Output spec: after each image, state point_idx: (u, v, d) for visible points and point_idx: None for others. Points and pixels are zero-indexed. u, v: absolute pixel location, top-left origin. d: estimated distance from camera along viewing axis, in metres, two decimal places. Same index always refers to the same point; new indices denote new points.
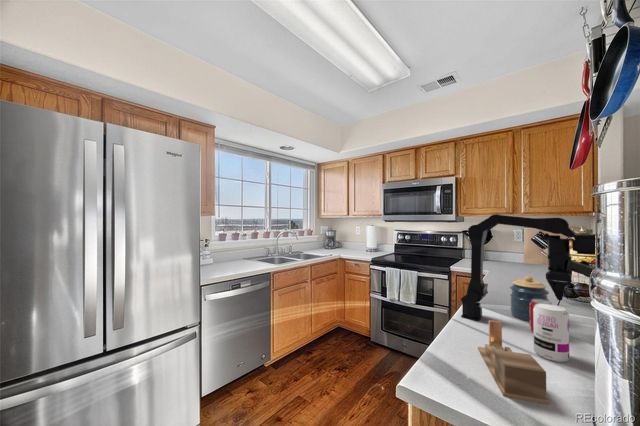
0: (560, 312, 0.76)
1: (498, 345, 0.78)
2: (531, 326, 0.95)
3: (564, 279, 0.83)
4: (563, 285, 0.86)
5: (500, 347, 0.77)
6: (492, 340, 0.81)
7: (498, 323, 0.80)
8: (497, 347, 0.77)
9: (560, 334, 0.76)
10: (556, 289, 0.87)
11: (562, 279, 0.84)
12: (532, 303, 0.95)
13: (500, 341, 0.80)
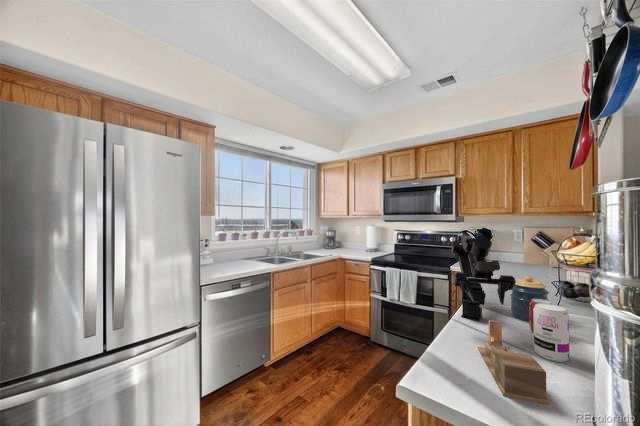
0: (560, 312, 0.76)
1: (498, 345, 0.78)
2: (531, 326, 0.95)
3: (455, 278, 0.96)
4: (466, 285, 0.93)
5: (500, 347, 0.77)
6: (492, 340, 0.81)
7: (498, 323, 0.80)
8: (497, 347, 0.77)
9: (560, 334, 0.76)
10: (468, 292, 0.93)
11: (455, 279, 0.96)
12: (532, 303, 0.95)
13: (500, 341, 0.80)
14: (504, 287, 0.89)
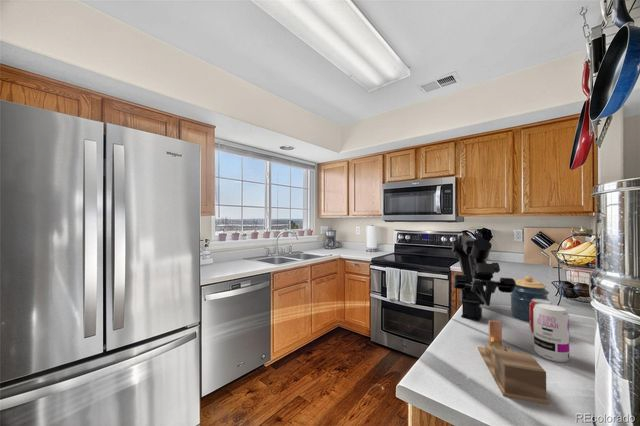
0: (560, 312, 0.76)
1: (498, 345, 0.78)
2: (531, 326, 0.95)
3: (454, 280, 0.95)
4: (478, 288, 0.92)
5: (500, 347, 0.77)
6: (492, 340, 0.81)
7: (498, 323, 0.80)
8: (497, 347, 0.77)
9: (560, 334, 0.76)
10: (480, 295, 0.91)
11: (454, 281, 0.96)
12: (532, 303, 0.95)
13: (500, 341, 0.80)
14: (490, 288, 0.90)
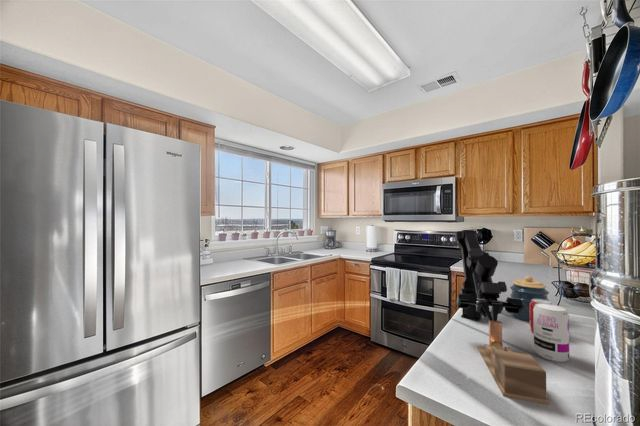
0: (560, 312, 0.76)
1: (498, 345, 0.78)
2: (531, 326, 0.95)
3: (458, 299, 0.89)
4: (483, 309, 0.85)
5: (500, 347, 0.76)
6: (492, 340, 0.80)
7: (498, 323, 0.80)
8: (497, 347, 0.77)
9: (560, 334, 0.76)
10: (486, 317, 0.85)
11: (458, 300, 0.89)
12: (532, 303, 0.95)
13: (500, 341, 0.80)
14: (497, 309, 0.84)
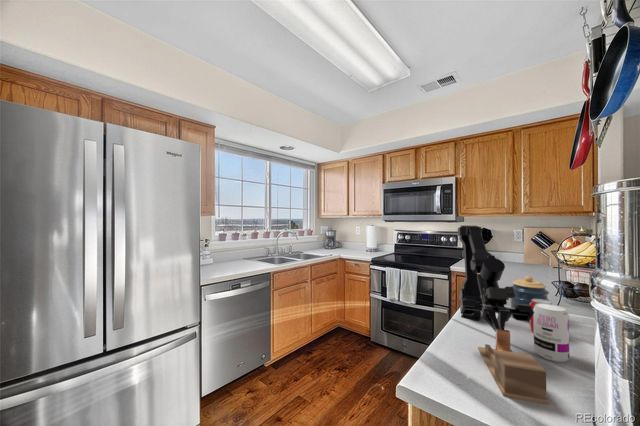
0: (560, 312, 0.76)
1: None
2: (531, 326, 0.95)
3: (462, 305, 0.83)
4: (490, 316, 0.79)
5: None
6: None
7: (506, 332, 0.74)
8: None
9: (560, 334, 0.76)
10: (492, 325, 0.79)
11: (461, 306, 0.83)
12: (532, 303, 0.95)
13: None
14: (504, 317, 0.77)
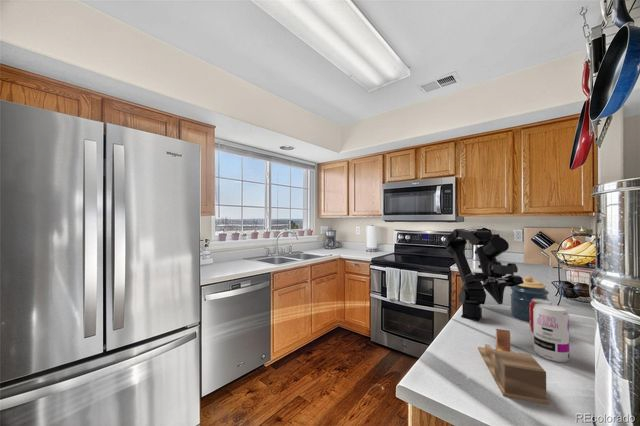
0: (560, 312, 0.76)
1: None
2: (531, 326, 0.95)
3: (472, 278, 0.92)
4: (492, 287, 0.92)
5: None
6: None
7: (506, 332, 0.74)
8: None
9: (560, 334, 0.76)
10: (492, 293, 0.93)
11: (471, 278, 0.93)
12: (532, 303, 0.95)
13: None
14: (503, 287, 0.92)
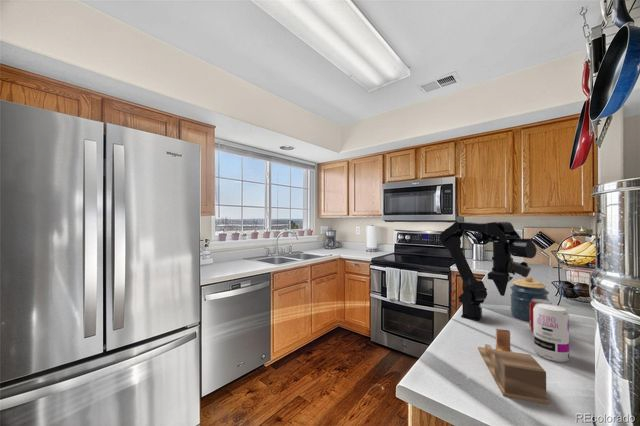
0: (560, 312, 0.76)
1: None
2: (531, 326, 0.95)
3: (502, 279, 0.91)
4: (504, 282, 0.96)
5: None
6: None
7: (506, 332, 0.74)
8: None
9: (560, 334, 0.76)
10: (499, 286, 0.98)
11: (501, 279, 0.91)
12: (532, 303, 0.95)
13: None
14: (508, 281, 0.98)
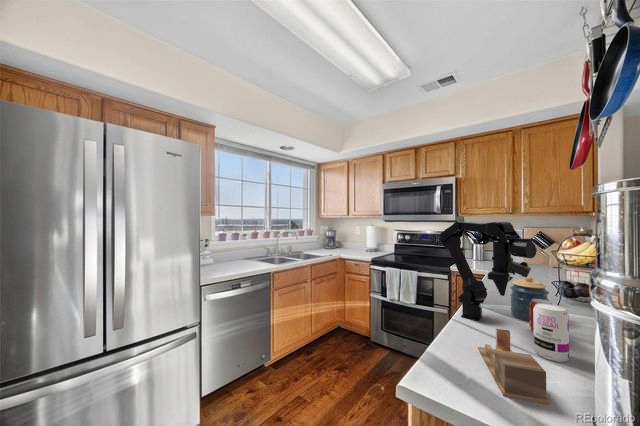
0: (560, 312, 0.76)
1: None
2: (531, 326, 0.95)
3: (502, 279, 0.91)
4: (504, 282, 0.96)
5: None
6: None
7: (506, 332, 0.74)
8: None
9: (560, 334, 0.76)
10: (499, 286, 0.98)
11: (501, 279, 0.91)
12: (532, 303, 0.95)
13: None
14: (508, 281, 0.98)
